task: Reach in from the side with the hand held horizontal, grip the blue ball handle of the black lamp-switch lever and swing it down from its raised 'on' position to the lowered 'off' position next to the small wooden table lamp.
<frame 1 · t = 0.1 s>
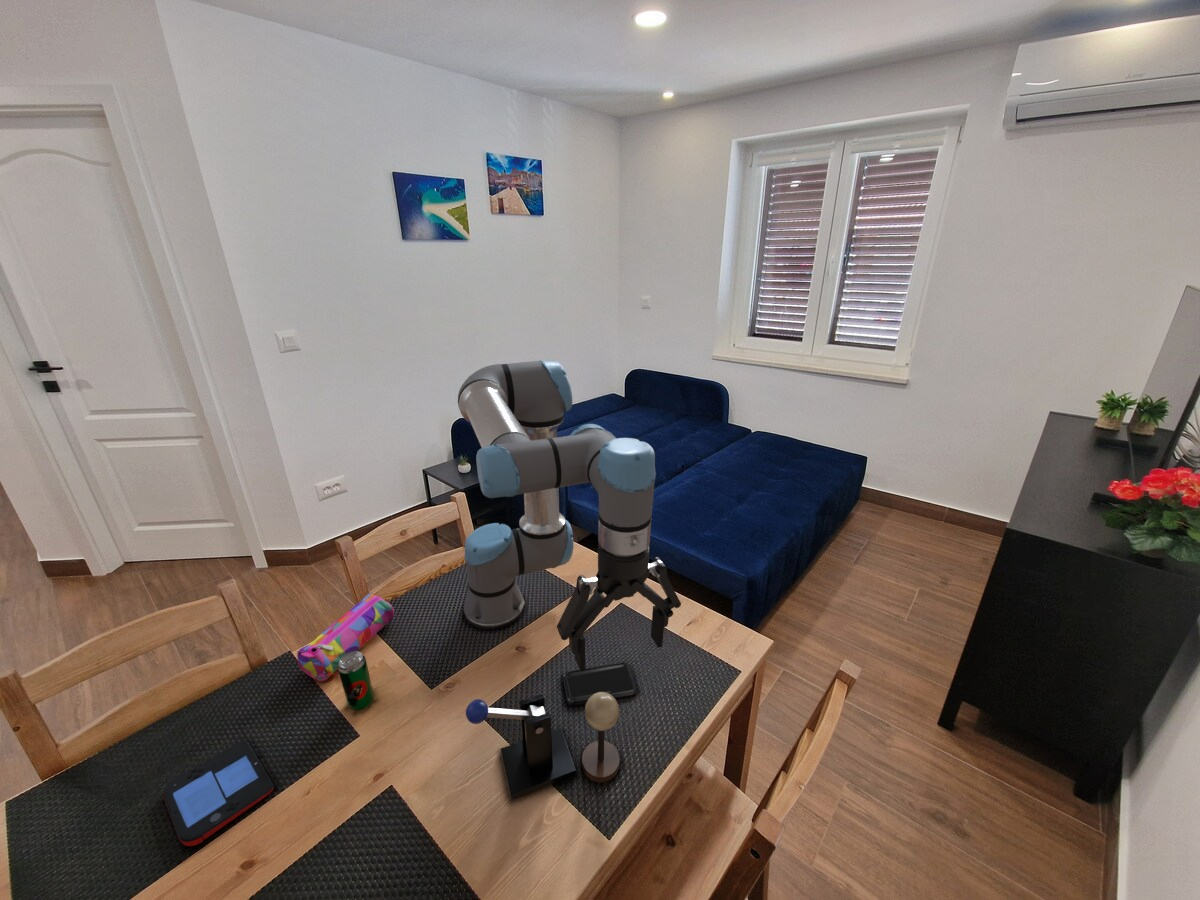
hand: (619, 652, 79), 28 cm above the table, tool pointing down, fingers open, 13 cm apart
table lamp: (600, 763, 90), on the table
switch lever: (506, 713, 82), point 16 cm above the table, hinge at 30.0°
pencil case: (351, 649, 114), on the table
game console: (220, 793, 85), on the table
soda can: (361, 702, 101), on the table
phone: (599, 685, 106), on the table
switch bracket: (537, 764, 90), on the table
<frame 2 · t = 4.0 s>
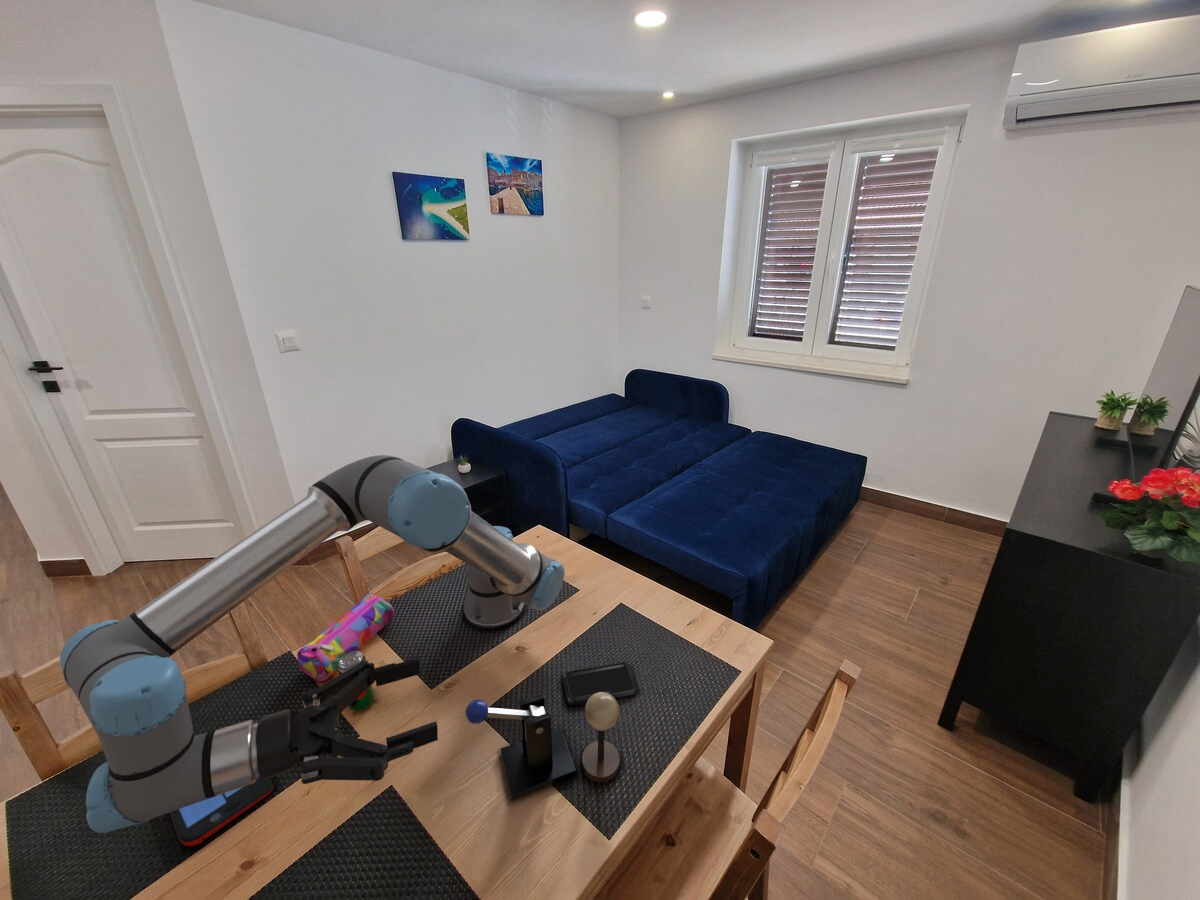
hand: (427, 695, 74), 26 cm above the table, tool horizontal, fingers open, 13 cm apart
nothing on the table moved.
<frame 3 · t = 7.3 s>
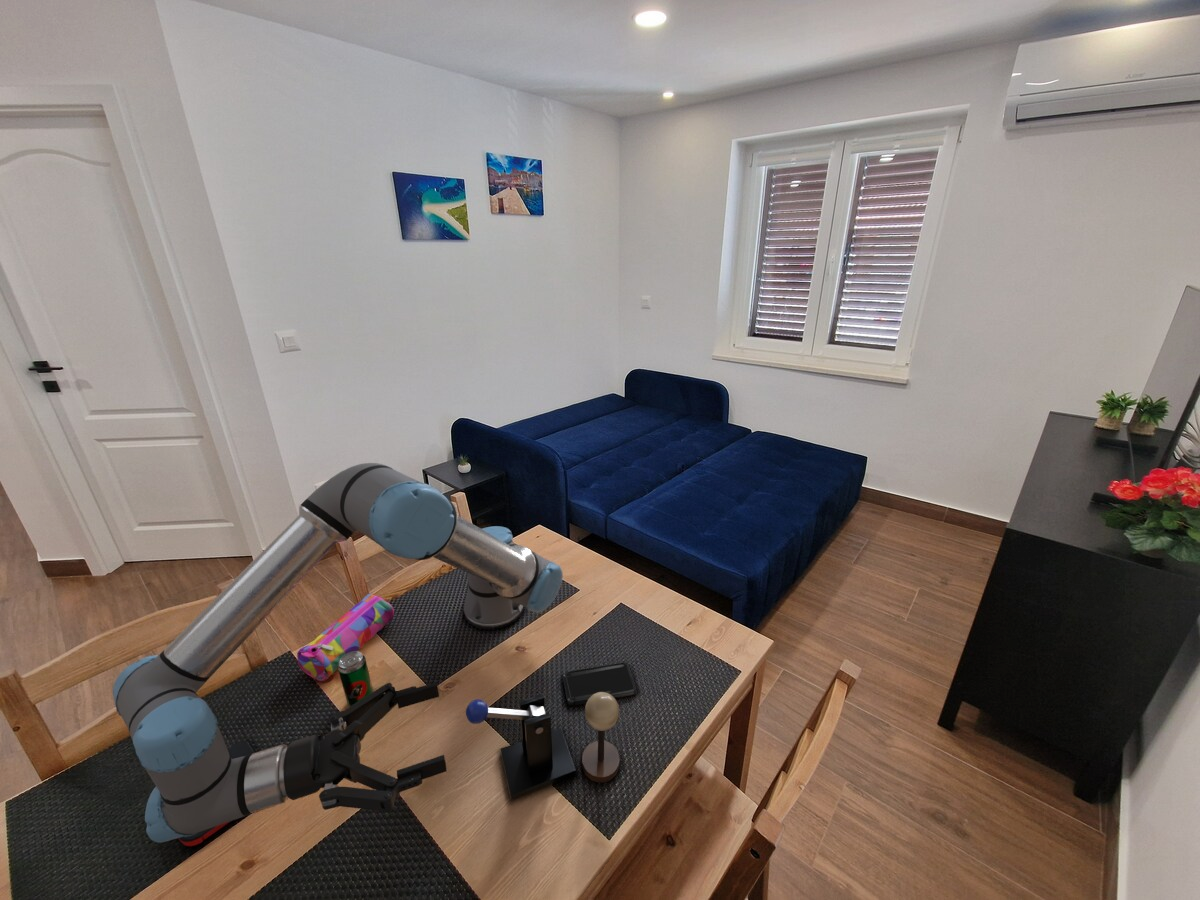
hand: (441, 723, 77), 18 cm above the table, tool horizontal, fingers open, 13 cm apart
nothing on the table moved.
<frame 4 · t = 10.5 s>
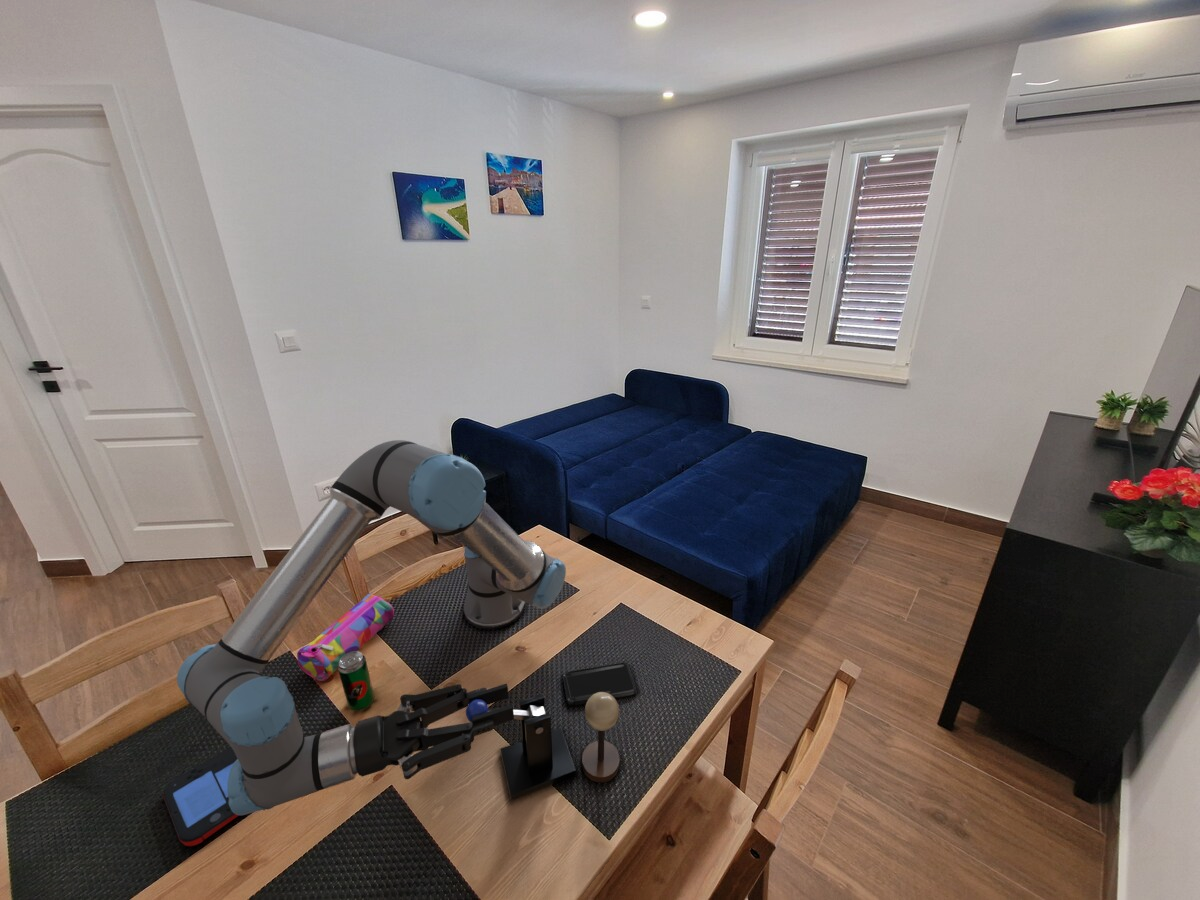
hand: (510, 701, 81), 18 cm above the table, tool horizontal, fingers closed on switch lever, 4 cm apart
switch lever: (506, 713, 82), point 16 cm above the table, hinge at 30.0°, touching gripper
everything else where it was.
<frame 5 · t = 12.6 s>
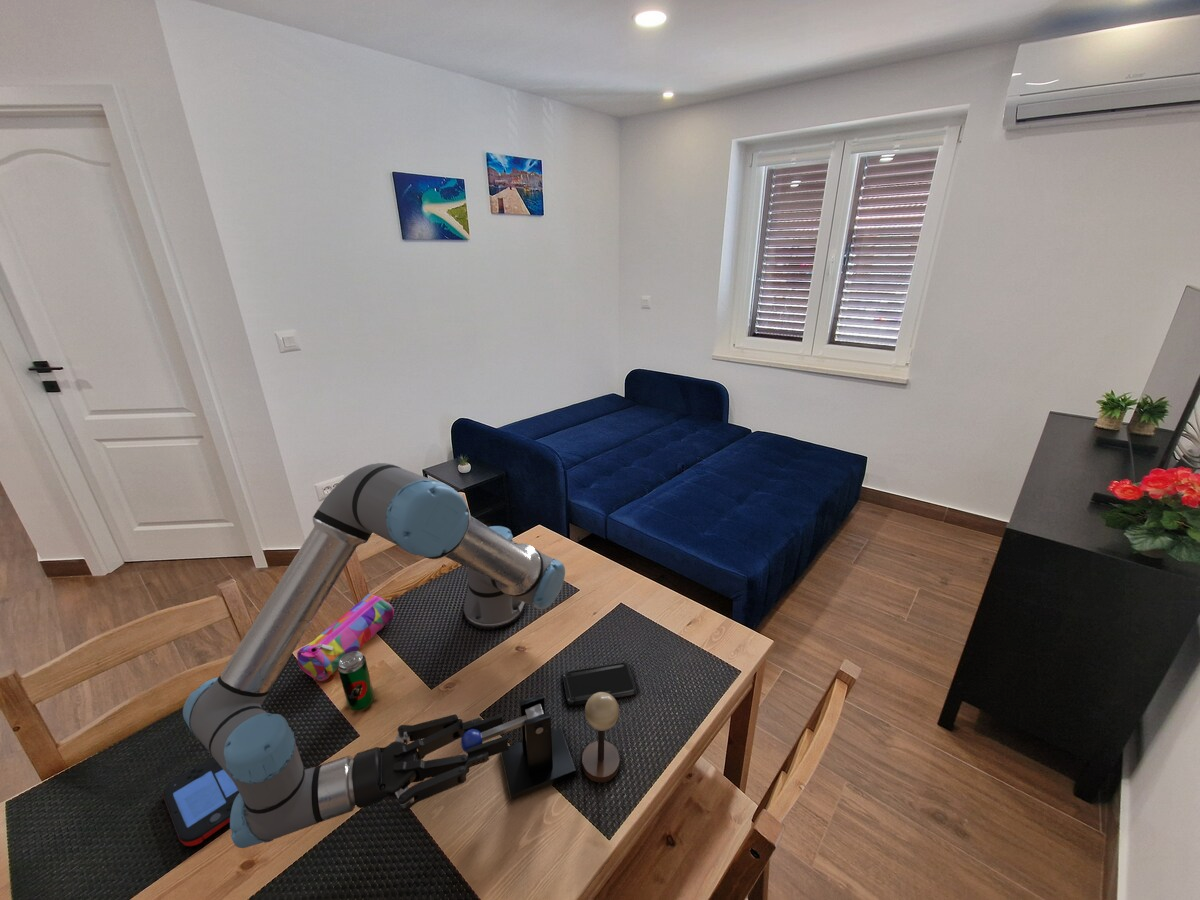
hand: (504, 731, 83), 12 cm above the table, tool horizontal, fingers closed on switch lever, 4 cm apart
switch lever: (502, 728, 83), point 12 cm above the table, hinge at -5.3°, touching gripper
everything else where it was.
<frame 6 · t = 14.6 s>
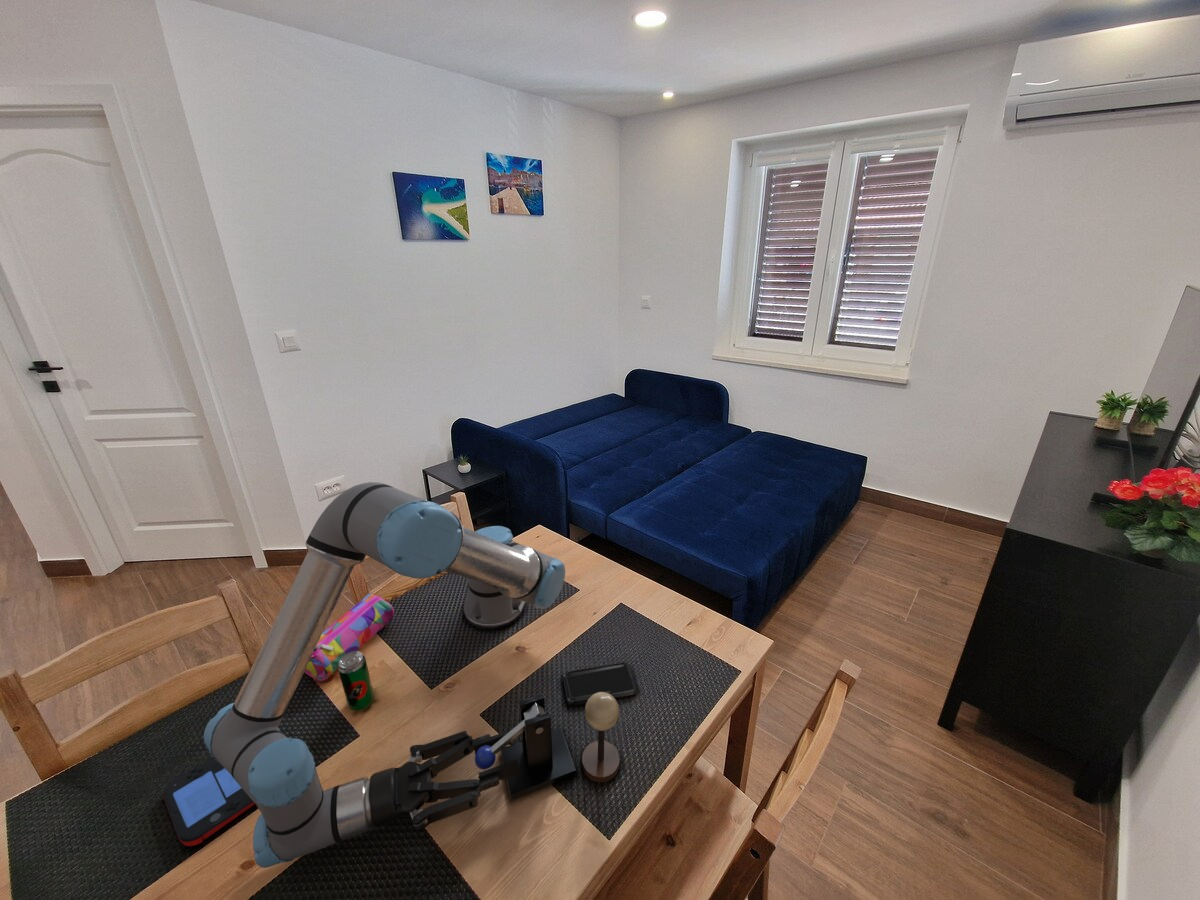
hand: (513, 751, 86), 6 cm above the table, tool horizontal, fingers open, 5 cm apart
switch lever: (509, 737, 84), point 10 cm above the table, hinge at -33.9°
everything else where it was.
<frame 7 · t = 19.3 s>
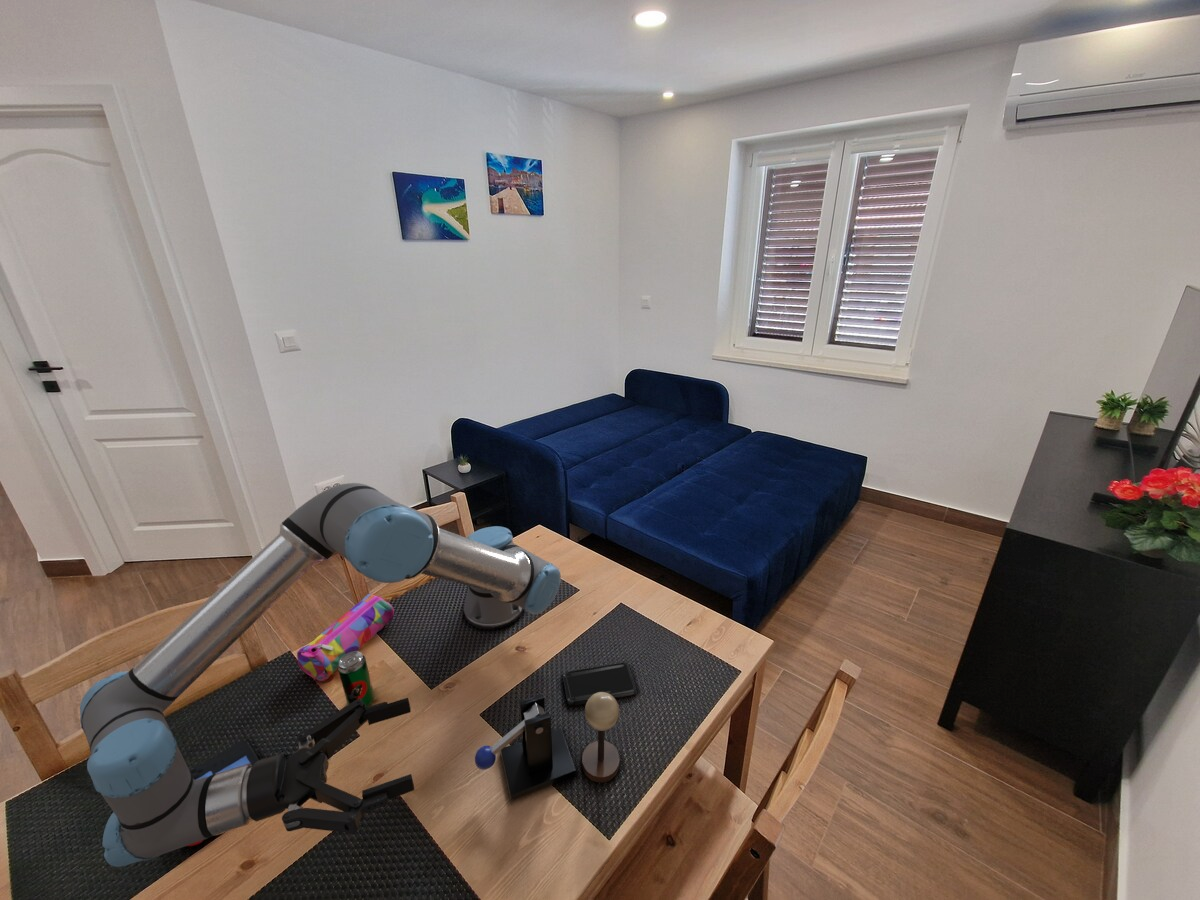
hand: (411, 740, 76), 17 cm above the table, tool horizontal, fingers open, 13 cm apart
nothing on the table moved.
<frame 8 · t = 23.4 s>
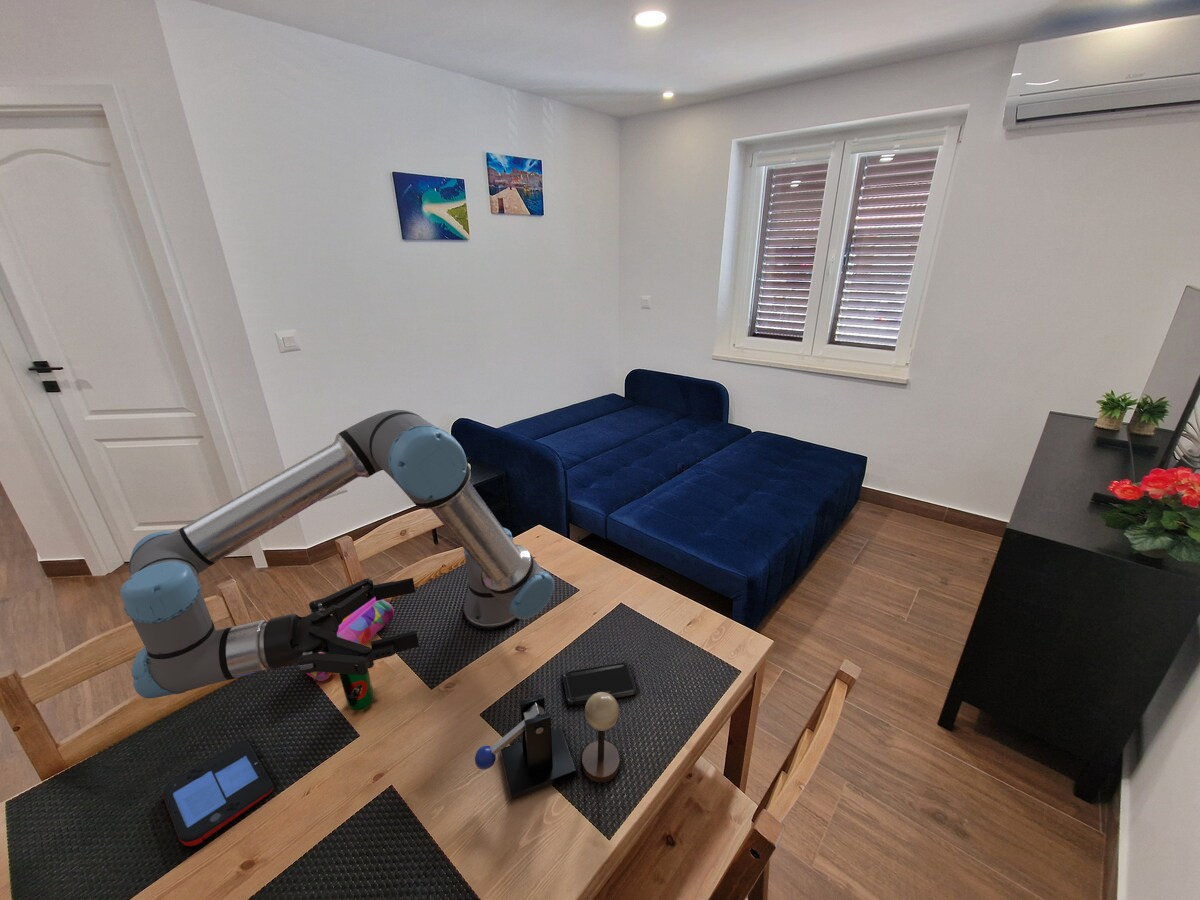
hand: (416, 609, 82), 32 cm above the table, tool horizontal, fingers open, 13 cm apart
nothing on the table moved.
at the end: switch lever at -34° (first picture: +30°); soda can moved 0.2 cm from its start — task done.
